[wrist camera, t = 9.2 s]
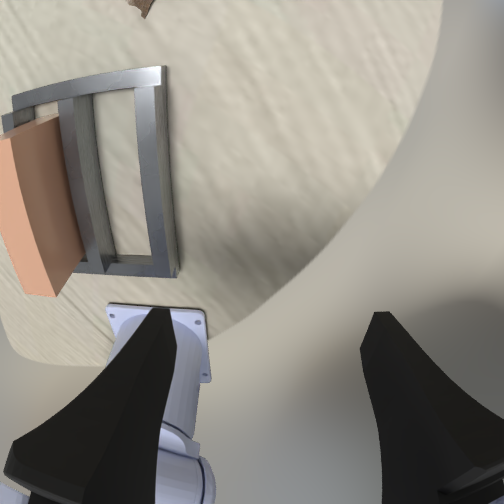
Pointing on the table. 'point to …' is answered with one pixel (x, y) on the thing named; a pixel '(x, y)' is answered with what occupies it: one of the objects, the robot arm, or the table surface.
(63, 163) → the terracotta strip
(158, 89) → the drying rack
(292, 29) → the table surface
